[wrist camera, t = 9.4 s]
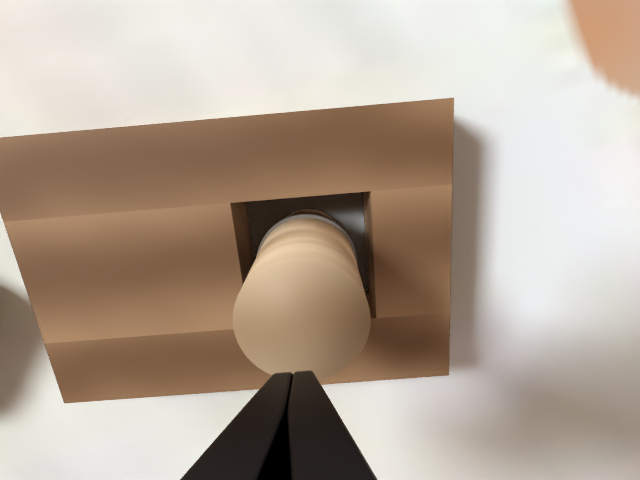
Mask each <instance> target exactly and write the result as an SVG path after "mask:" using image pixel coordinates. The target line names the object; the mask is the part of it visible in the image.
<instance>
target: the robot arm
mask: <svg viewBox="0 0 640 480" xmlns="http://www.w3.org/2000/svg"><path fill="white" fill-rule="evenodd" d="M180 480H377V478H376V476H375V475H374V473H373V471H372V470H371V468H370V466H369V465H368V463H367V461H366V460H365V458H364V456H363V455H362V453H361V451H360V450H359V448H358V446H357V445H356V443H355V441H354V440H353V438H352V436H351V435H350V433H349V431H348V429H347V428H346V426H345V424H344V423H343V421H342V419H341V418H340V416H339V414H338V413H337V411H336V409H335V408H334V406H333V404H332V403H331V401H330V399H329V398H328V396H327V394H326V393H325V391H324V389H323V388H322V386H321V384H320V383H319V381H318V379H317V378H316V376H315V374H314V373H313V371H311V370H308V371H296V372H294V374H292V373H291V372H281V373H274V374H273V375H272V376H271V377H270V378H269V379H268V380H267V382H266V383H265V384H264V385H263V386H262V387H261V388H260V390H259V391H258V392H257V393H256V394H255V395H254V396H253V397H252V399H251V400H250V401H249V402H248V403H247V404H246V405H245V407H244V408H243V409H242V410H241V411H240V412H239V413H238V415H237V416H236V417H235V418H234V419H233V420H232V421H231V423H230V424H229V425H228V426H227V427H226V428H225V429H224V430H223V432H222V433H221V434H220V435H219V436H218V437H217V438H216V440H215V441H214V442H213V443H212V444H211V445H210V446H209V448H208V449H207V450H206V451H205V452H204V453H203V454H202V456H201V457H200V458H199V459H198V460H197V461H196V462H195V463H194V465H193V466H192V467H191V468H190V469H189V470H188V471H187V473H186V474H185V475H184V476H183V477H182V478H181V479H180Z"/></svg>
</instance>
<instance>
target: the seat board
mask: <svg viewBox="0 0 640 480" xmlns="http://www.w3.org/2000/svg"><path fill="white" fill-rule="evenodd" d="M453 117H454V98H446V99H435V100H423V101H412V102H401V103H389V104H378V105H366V106H355V107H344V108H332V109H321V110H310V111H298V112H287V113H275V114H264V115H253V116H241V117H230V118H219V119H207V120H196V121H184V122H173V123H162V124H150V125H139V126H128V127H116V128H105V129H93V130H82V131H71V132H59V133H48V134H37V135H25V136H14V137H2V138H0V213H1V216H2V219H3V222H4V225H5V228H6V231H7V234H8V237H9V240H10V242H11V245H12V248H13V251H14V254H15V257H16V260H17V263H18V266H19V269H20V272H21V275H22V278H23V281H24V284H25V287H26V290H27V293H28V296H29V299H30V302H31V305H32V308H33V311H34V314H35V317H36V320H37V323H38V326H39V329H40V332H41V335H42V338H43V341H44V344H45V347H46V350H47V353H48V356H49V359H50V362H51V365H52V368H53V371H54V374H55V377H56V380H57V383H58V386H59V389H60V392H61V395H62V398H63V401H64V403H75V402H88V401H102V400H116V399H129V398H143V397H157V396H171V395H184V394H198V393H212V392H225V391H239V390H253V389H260V388H261V387H262V386H263V385H264V384H265V383H266V382H267V380H268V379H269V378H270V377H271V376H272V375H270V374H268V373H266V372H264V371H263V370H261V369H259V368H258V367H257V366H256V365H254V364H253V363H252V362H251V361H250V360H249V359H248V358H247V357H246V355H245V354H244V353H243V351H242V350H241V348H240V346H239V344H238V342H237V339H236V337H235V333H234V329H233V310H234V305H235V302H236V299H237V296H238V294H239V292H240V290H241V288H242V286H243V284H244V282H245V280H246V278H247V276H248V274H249V271H250V269H251V267H252V265H253V263H254V254H253V247H252V240H251V233H250V226H249V219H248V212H247V205H246V202H247V201H259V200H271V199H283V198H295V197H307V196H319V195H331V194H343V193H355V192H363V204H364V223H365V243H366V263H367V283H368V290H364V291H365V295H366V298H367V302H368V305H369V309H370V316H371V326H370V332H369V336H368V339H367V342H366V344H365V346H364V348H363V350H362V351H361V353H360V354H359V356H358V357H357V358H356V359H355V360H354V361H353V362H352V363H351V364H350V365H349V366H348V367H346V368H345V369H343V370H342V371H341V372H339V373H337V374H335V375H333V376H330V377H328V378H325V379H321V380H318V381H319V383H320V384H335V383H349V382H362V381H376V380H390V379H404V378H417V377H431V376H445V375H449V338H450V283H451V228H452V172H453Z"/></svg>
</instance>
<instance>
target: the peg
mask: <svg viewBox="0 0 640 480" xmlns="http://www.w3.org/2000/svg"><path fill="white" fill-rule="evenodd" d="M370 326H371V316H370V309H369V305H368V302H367V298H366V295H365V291H364V288H363V284H362V281H361V277H360V274H359V270H358V267H357V254H356V251H355V247H354V245H353V242H352V240H351V238H350V237H349V235H348V234H347V233H346V231H345V230H344V229H343V228H342V227H341V226H340V225H339V224H338V223H337V222H336V221H335V220H334V219H333V218H332V217H330V216H329V215H328V214H326V213H324V212H322V211H319V210H315V209H302V210H298V211H295V212H293V213H291V214H289V215H288V216H286V217H284V218H283V219H281V220H280V221H278V222H277V223H276V224H275V225H274V226H272V227H271V228H270V229H269V230H268V232H267V233H266V234H265V236H264V237H263V239H262V241H261V243H260V245H259V248H258V251H257V256H256V259H255V261H254V263H253V265H252V267H251V269H250V271H249V274H248V276H247V278H246V280H245V282H244V284H243V286H242V288H241V290H240V292H239V294H238V296H237V299H236V302H235V305H234V310H233V329H234V333H235V337H236V339H237V342H238V344H239V346H240V348H241V350H242V351H243V353H244V354H245V355H246V357H247V358H248V359H249V360H250V361H251V362H252V363H253V364H254V365H256V366H257V367H258V368H259V369H261V370H263V371H264V372H266V373H268V374H270V375H273V374H274V373H281V372H291V373H292V374H294V372H296V371H308V370H311V371H313V373H314V374H315V376H316V378H317V379H318V380H321V379H325V378H328V377H330V376H333V375H335V374H337V373H339V372H341V371H342V370H343V369H345V368H346V367H348V366H349V365H350V364H351V363H352V362H353V361H354V360H355V359H356V358H357V357H358V356H359V354H360V353H361V351H362V350H363V348H364V346H365V344H366V342H367V339H368V336H369V332H370Z"/></svg>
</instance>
